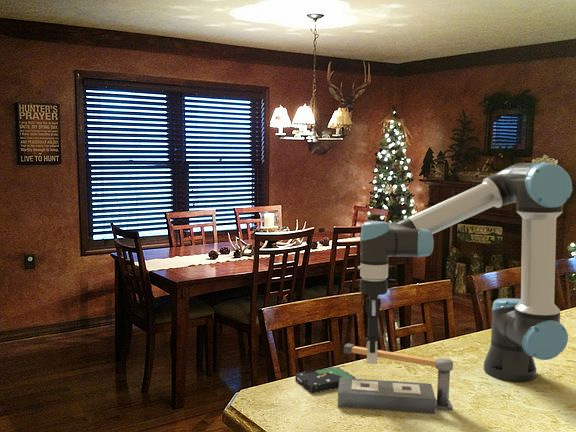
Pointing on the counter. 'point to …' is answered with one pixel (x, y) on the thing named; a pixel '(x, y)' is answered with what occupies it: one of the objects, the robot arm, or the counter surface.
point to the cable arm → (403, 357)
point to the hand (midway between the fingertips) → (371, 362)
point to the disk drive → (321, 379)
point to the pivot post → (443, 391)
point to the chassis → (386, 395)
